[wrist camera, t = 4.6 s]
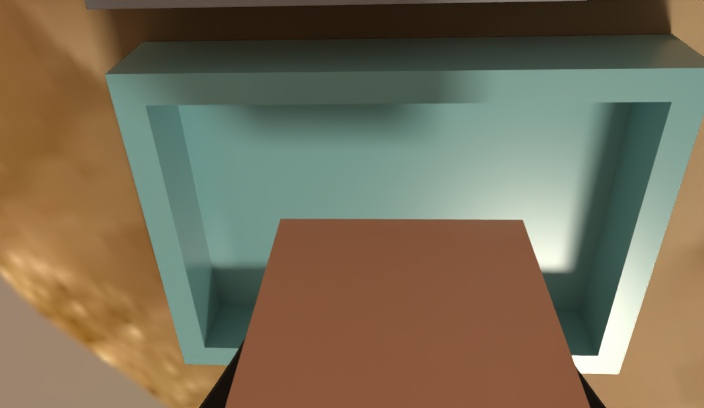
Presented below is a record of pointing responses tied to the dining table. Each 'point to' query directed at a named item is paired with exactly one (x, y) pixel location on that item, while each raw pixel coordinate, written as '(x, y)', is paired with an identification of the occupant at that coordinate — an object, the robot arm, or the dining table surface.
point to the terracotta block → (404, 319)
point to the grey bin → (261, 3)
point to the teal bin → (410, 160)
